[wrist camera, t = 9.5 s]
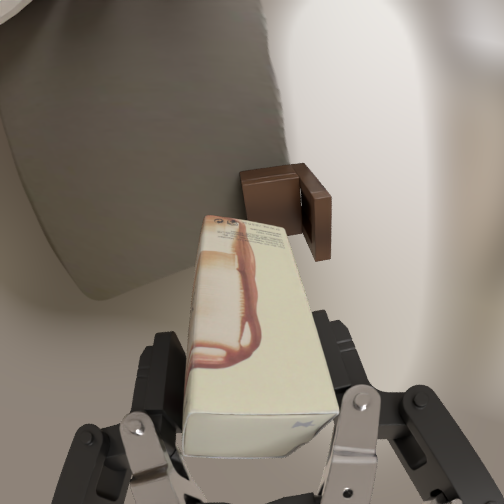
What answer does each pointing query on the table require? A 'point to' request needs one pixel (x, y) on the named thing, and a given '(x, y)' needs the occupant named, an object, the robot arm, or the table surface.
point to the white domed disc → (11, 8)
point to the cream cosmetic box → (251, 348)
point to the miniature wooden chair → (290, 204)
